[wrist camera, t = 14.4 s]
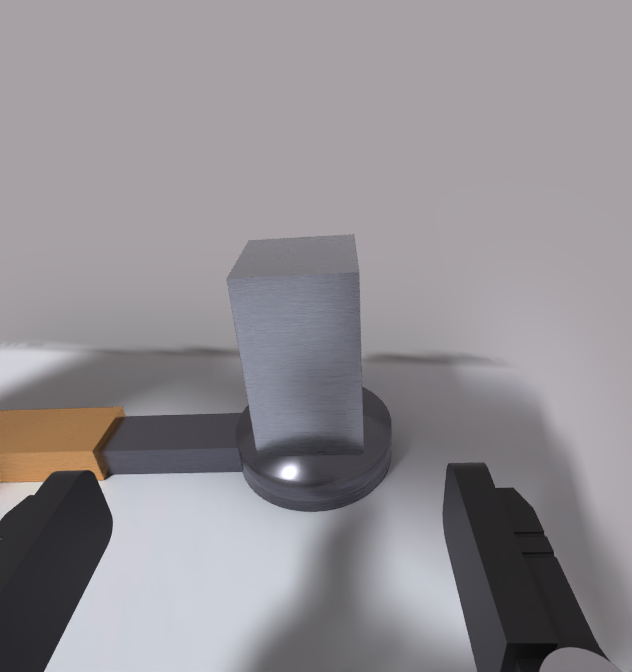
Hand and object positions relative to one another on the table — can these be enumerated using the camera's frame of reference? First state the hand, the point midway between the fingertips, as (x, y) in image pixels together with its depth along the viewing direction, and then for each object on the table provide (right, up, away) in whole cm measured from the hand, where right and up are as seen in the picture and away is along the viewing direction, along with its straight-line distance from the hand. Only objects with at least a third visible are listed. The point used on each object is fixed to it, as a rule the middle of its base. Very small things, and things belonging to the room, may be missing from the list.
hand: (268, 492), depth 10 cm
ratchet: (-7, -3, +15) cm, 17 cm away
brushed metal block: (+1, -1, +13) cm, 13 cm away
